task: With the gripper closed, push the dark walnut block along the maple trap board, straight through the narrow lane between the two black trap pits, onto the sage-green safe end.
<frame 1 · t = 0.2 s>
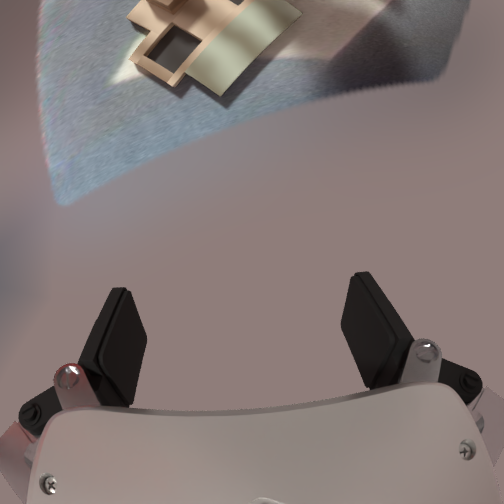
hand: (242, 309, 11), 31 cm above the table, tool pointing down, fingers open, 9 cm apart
trap board: (207, 17, 27), on the table
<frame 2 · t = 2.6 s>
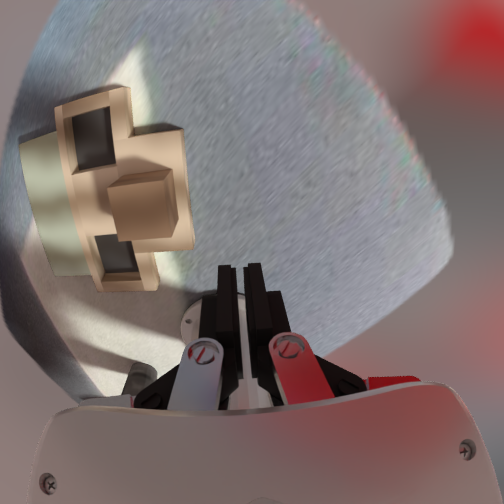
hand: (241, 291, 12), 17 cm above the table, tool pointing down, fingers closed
trap board: (104, 197, 26), on the table
beverage cup: (144, 369, 41), on the table
walnut block: (150, 197, 25), point 2 cm above the table, touching trap board
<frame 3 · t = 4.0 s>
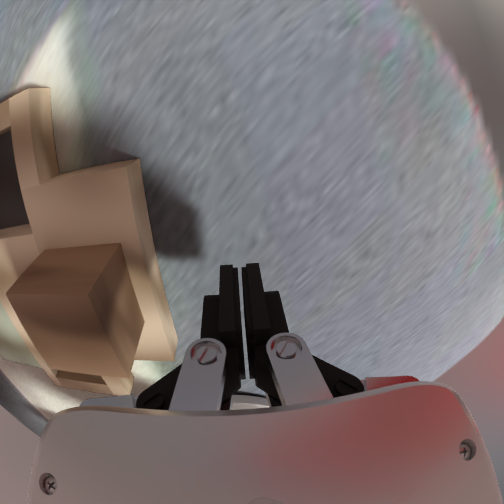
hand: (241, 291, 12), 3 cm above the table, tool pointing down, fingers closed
trap board: (36, 271, 15), on the table
walnut block: (92, 287, 13), point 2 cm above the table, touching trap board
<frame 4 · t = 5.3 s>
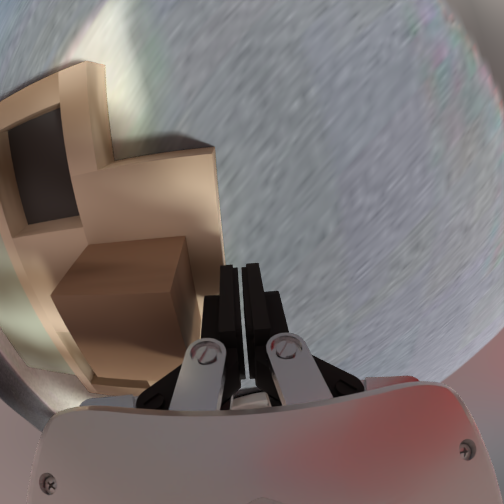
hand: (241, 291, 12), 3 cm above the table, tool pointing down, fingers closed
trap board: (75, 269, 15), on the table
walnut block: (145, 284, 13), point 2 cm above the table, touching trap board
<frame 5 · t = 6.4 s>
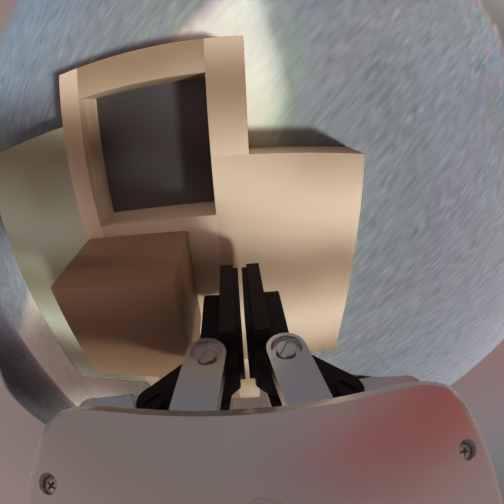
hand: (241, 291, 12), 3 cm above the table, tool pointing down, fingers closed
trap board: (170, 264, 15), on the table
walnut block: (145, 280, 13), point 2 cm above the table, touching gripper, trap board
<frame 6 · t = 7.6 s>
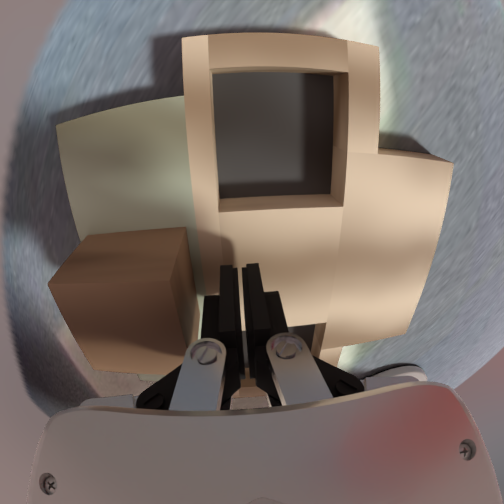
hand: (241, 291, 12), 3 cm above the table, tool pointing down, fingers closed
trap board: (271, 256, 15), on the table
walnut block: (144, 276, 13), point 2 cm above the table, touching trap board
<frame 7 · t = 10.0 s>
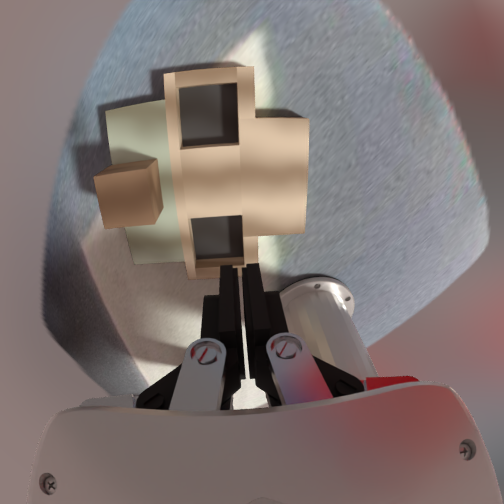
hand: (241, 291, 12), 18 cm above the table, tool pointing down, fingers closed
trap board: (210, 177, 27), on the table
walnut block: (136, 186, 25), point 2 cm above the table, touching trap board
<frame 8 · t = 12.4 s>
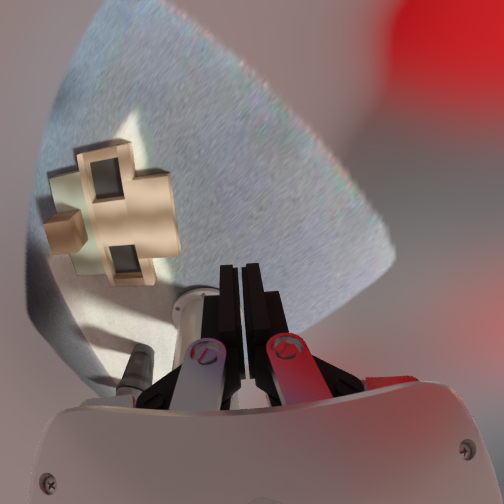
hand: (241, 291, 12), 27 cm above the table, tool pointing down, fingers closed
trap board: (116, 218, 38), on the table
beverage cup: (144, 350, 53), on the table
walnut block: (71, 226, 36), point 2 cm above the table, touching trap board
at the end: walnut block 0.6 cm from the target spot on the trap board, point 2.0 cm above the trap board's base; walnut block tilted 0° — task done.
